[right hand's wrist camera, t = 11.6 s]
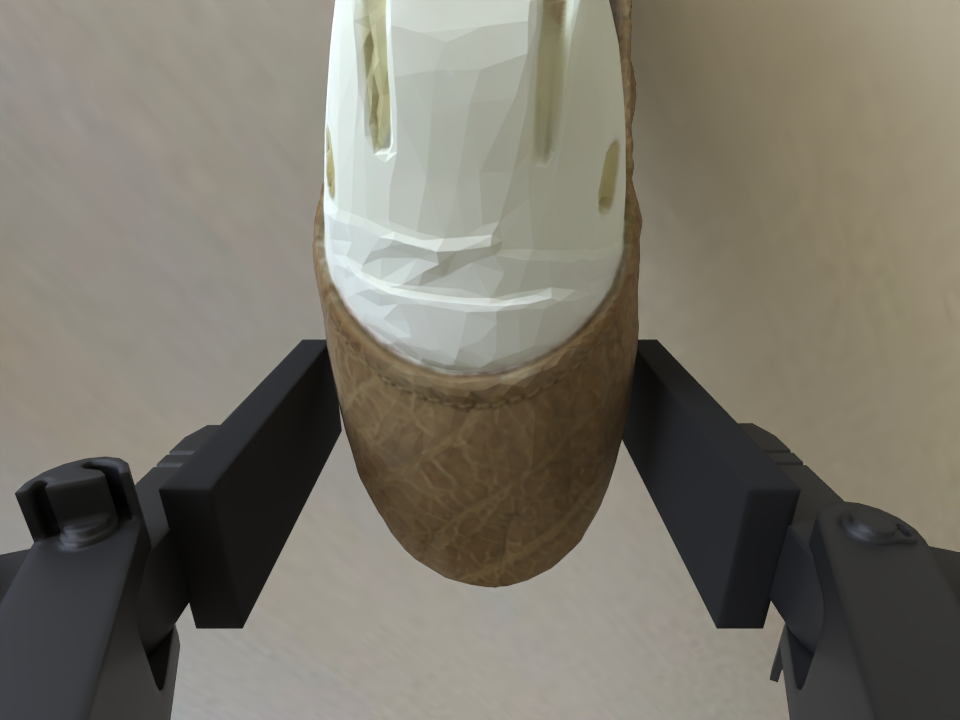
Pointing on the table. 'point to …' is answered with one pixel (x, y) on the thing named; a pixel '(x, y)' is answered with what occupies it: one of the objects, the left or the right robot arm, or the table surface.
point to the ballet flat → (481, 269)
